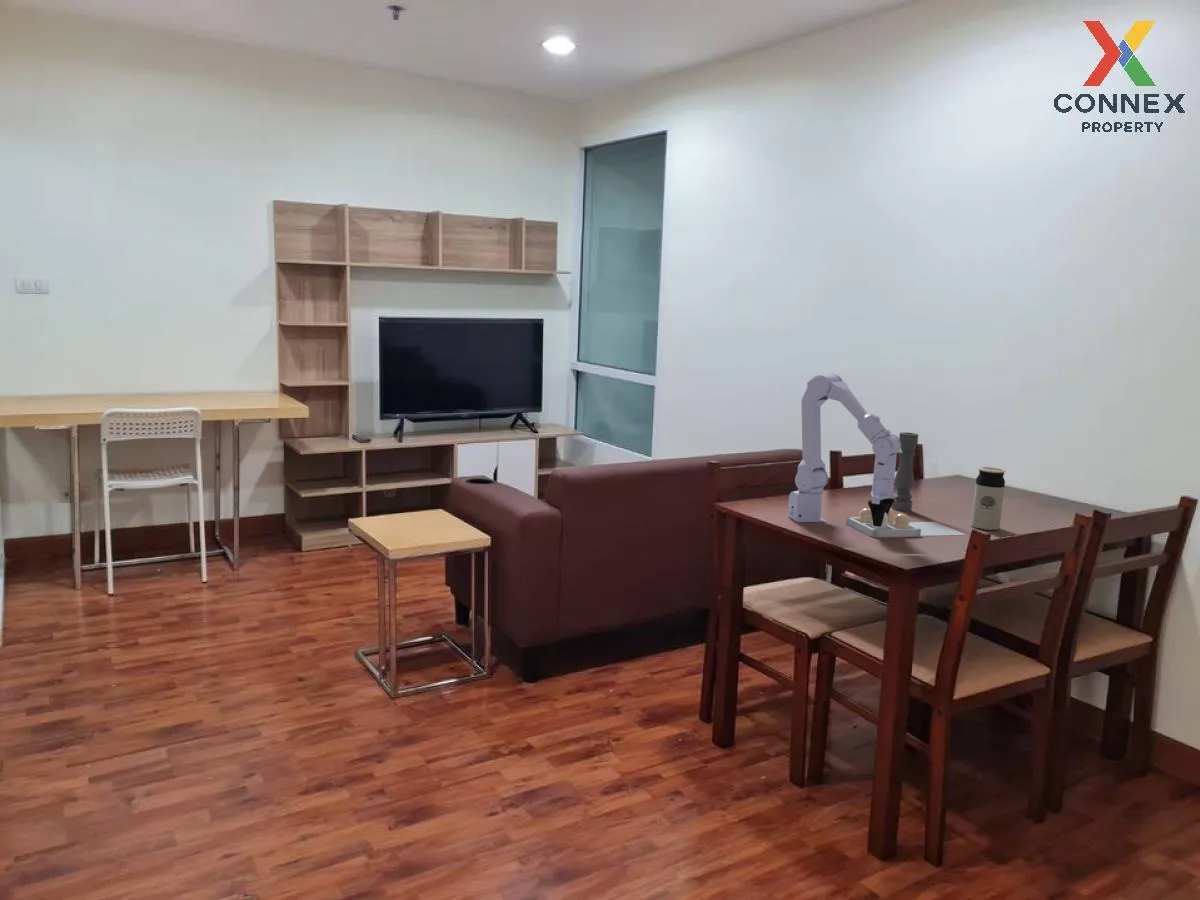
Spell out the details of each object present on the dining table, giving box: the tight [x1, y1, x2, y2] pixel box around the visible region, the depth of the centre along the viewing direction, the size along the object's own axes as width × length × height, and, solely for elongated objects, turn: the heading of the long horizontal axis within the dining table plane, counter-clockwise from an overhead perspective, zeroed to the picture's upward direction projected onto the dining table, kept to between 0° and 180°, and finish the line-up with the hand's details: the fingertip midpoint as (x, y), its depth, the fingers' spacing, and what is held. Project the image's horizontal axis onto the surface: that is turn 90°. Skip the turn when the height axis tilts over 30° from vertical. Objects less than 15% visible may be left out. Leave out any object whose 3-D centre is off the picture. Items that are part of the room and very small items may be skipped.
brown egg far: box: [887, 508, 896, 523], centre depth 266 cm, size 4×4×6 cm
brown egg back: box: [893, 512, 910, 529], centre depth 259 cm, size 4×4×6 cm
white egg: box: [871, 512, 888, 529], centre depth 257 cm, size 4×4×6 cm
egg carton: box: [845, 516, 967, 538], centre depth 264 cm, size 30×15×2 cm, turn 104°
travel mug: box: [970, 466, 1006, 531], centre depth 271 cm, size 8×8×18 cm
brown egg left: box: [858, 507, 872, 523], centre depth 264 cm, size 4×4×6 cm
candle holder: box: [891, 431, 919, 512], centre depth 289 cm, size 6×6×25 cm
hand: (879, 524), depth 257 cm, fingers closed on white egg, 4 cm apart
